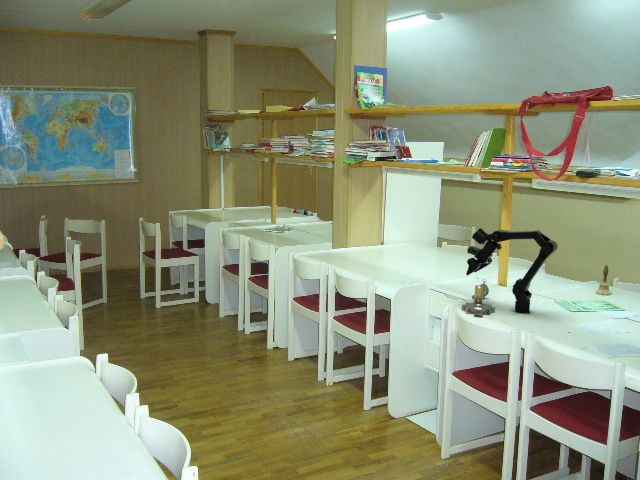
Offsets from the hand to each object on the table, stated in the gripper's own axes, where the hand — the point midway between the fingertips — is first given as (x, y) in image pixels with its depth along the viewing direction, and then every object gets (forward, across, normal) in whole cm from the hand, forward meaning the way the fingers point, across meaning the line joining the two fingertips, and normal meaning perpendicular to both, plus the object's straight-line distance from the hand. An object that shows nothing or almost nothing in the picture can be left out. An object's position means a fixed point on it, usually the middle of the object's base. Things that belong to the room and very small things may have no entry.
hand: (470, 273), depth 344 cm
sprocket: (+7, +13, +18) cm, 23 cm away
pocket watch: (+13, -12, +9) cm, 20 cm away
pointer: (+4, +23, +21) cm, 31 cm away
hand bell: (-13, -68, +50) cm, 85 cm away
